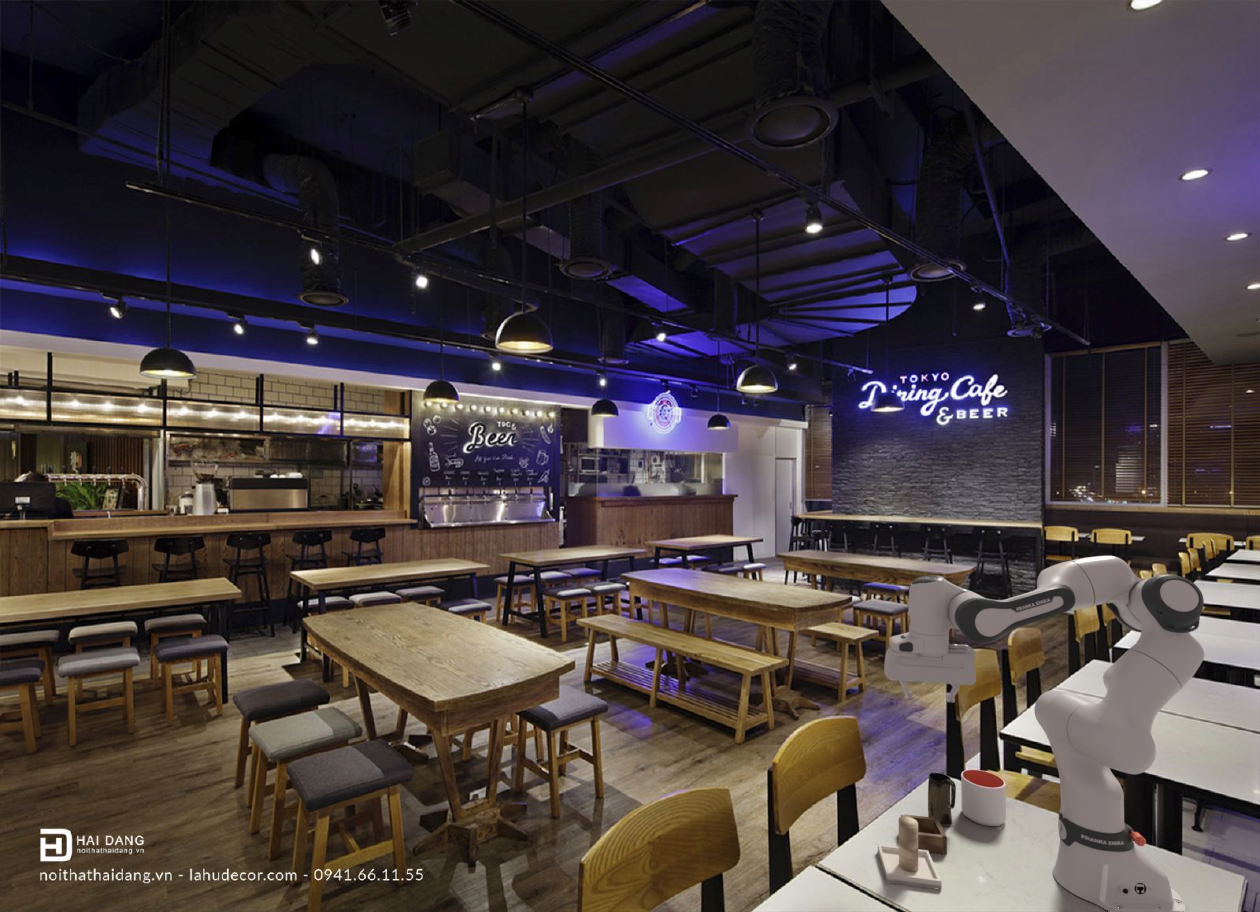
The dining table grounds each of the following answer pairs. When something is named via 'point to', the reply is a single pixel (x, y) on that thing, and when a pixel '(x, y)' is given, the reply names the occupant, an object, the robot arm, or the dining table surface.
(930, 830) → the holder
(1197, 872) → the dining table surface
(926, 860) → the tray
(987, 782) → the cup
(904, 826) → the dowel
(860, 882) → the dining table surface
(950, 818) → the mug
